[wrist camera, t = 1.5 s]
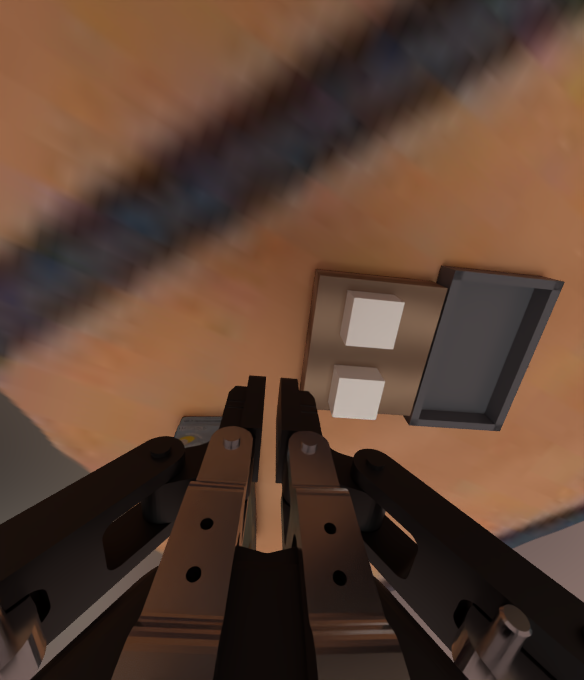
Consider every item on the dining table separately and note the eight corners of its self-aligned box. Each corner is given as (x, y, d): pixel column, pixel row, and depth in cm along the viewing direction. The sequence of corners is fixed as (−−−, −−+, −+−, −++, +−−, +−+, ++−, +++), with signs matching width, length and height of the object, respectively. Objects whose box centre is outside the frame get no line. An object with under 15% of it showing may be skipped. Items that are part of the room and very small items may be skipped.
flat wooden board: (315, 269, 28) (320, 275, 26) (431, 281, 29) (447, 288, 26) (299, 392, 33) (301, 408, 30) (399, 399, 34) (409, 415, 31)
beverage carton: (255, 412, 34) (250, 455, 28) (258, 533, 42) (255, 588, 35) (181, 413, 34) (160, 457, 28) (198, 534, 41) (184, 591, 35)
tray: (441, 265, 29) (455, 270, 26) (542, 276, 30) (564, 281, 27) (400, 411, 35) (409, 425, 32) (485, 417, 35) (499, 431, 33)
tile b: (334, 364, 29) (339, 377, 26) (376, 367, 29) (385, 381, 27) (328, 401, 30) (332, 417, 28) (368, 404, 31) (375, 419, 28)
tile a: (347, 290, 26) (354, 297, 24) (393, 294, 26) (404, 302, 24) (339, 334, 28) (345, 345, 25) (383, 338, 28) (393, 349, 26)
